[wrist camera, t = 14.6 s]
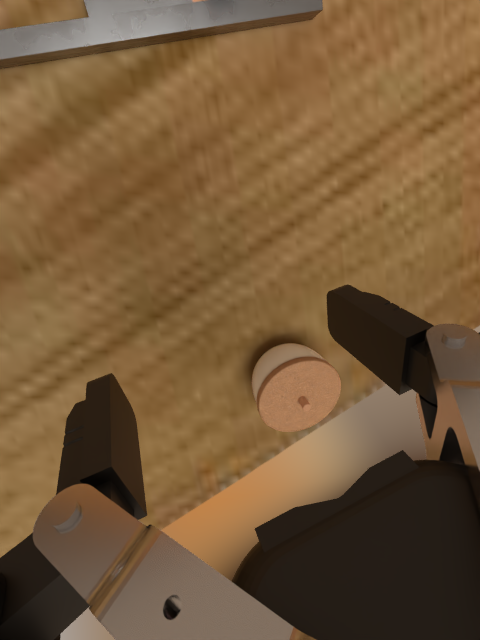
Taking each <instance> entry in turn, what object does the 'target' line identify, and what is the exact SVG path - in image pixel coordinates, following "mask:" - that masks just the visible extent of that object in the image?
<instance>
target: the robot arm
mask: <svg viewBox="0 0 480 640" xmlns="http://www.w3.org/2000/svg"><path fill="white" fill-rule="evenodd" d="M327 315H328V328H329V332H330V334H331V336H332V337H333V339H334V340H335V341H336V342H337V343H339V344H340V345H341V346H342V347H343V348H344V349H346V350H347V351H348V352H349V353H350V354H352V355H353V356H354V357H355V358H356V359H357V360H359V361H360V362H361V363H362V364H363V365H365V366H366V367H367V368H368V369H369V370H370V371H372V372H373V373H374V374H375V375H376V376H378V377H379V378H380V379H381V380H382V381H383V382H385V383H386V384H387V385H388V386H389V387H391V388H392V389H393V390H394V391H395V392H396V393H398V394H399V395H400V394H403V393H405V392H407V391H409V390H411V389H413V390H414V391H416V392H417V394H416V403H417V408H418V413H419V418H420V422H421V427H422V432H423V436H424V442H425V447H426V460H416V461H413V460H412V459H411V458H410V457H409V456H408V455H407V454H406V453H405V452H404V451H403V450H402V451H400V452H399V453H397V454H395V455H393V456H391V457H389V458H387V459H385V460H383V461H381V462H380V463H378V464H376V465H374V466H372V467H370V468H369V469H368V470H367V471H366V472H365V473H364V474H363V475H362V476H361V477H360V478H359V479H358V480H357V481H356V483H354V484H353V485H352V486H351V488H349V489H348V490H347V491H346V492H345V494H344V495H342V496H341V497H339V498H337V499H333V500H328V501H324V502H319V503H314V504H309V505H304V506H300V507H295V508H293V509H291V510H289V511H287V512H285V513H283V514H281V515H279V516H277V517H276V518H274V519H272V520H270V521H268V522H266V523H264V524H262V525H261V526H259V527H257V528H255V531H256V533H257V536H258V539H259V542H258V543H257V544H256V545H255V546H254V547H253V548H252V549H251V551H250V552H249V553H248V554H247V556H246V557H245V558H244V560H243V561H242V563H241V564H240V566H239V568H238V569H237V571H236V573H235V575H234V577H233V579H232V582H231V581H229V580H228V579H227V578H226V577H224V576H223V575H221V574H220V573H219V572H217V571H216V570H215V569H213V568H212V567H210V566H209V565H208V564H206V563H205V562H204V561H202V560H201V559H199V558H198V557H197V556H195V555H194V554H192V553H191V552H190V551H188V550H187V549H186V548H184V547H183V546H181V545H180V544H178V543H177V542H176V541H175V540H173V539H172V538H170V537H169V536H168V535H166V534H165V533H163V532H162V531H161V530H159V529H158V528H156V527H154V526H152V525H149V526H146V525H144V524H142V523H141V522H140V521H138V520H139V519H141V518H143V517H145V516H147V511H146V502H145V493H144V484H143V476H142V467H141V458H140V449H139V440H138V432H137V423H136V418H135V415H134V412H133V409H132V407H131V405H130V403H129V401H128V399H127V398H126V396H125V394H124V392H123V390H122V389H121V387H120V385H119V383H118V382H117V380H116V378H115V376H114V375H113V374H112V373H111V374H108V375H105V376H103V377H100V378H97V379H95V380H92V381H90V382H88V383H87V388H86V400H84V401H82V402H79V403H76V404H75V406H74V407H73V409H72V411H71V412H70V414H69V416H68V418H67V421H66V428H65V434H66V435H65V436H64V443H63V445H64V447H63V450H62V457H61V464H60V471H59V478H58V486H57V493H56V496H54V497H53V498H52V499H51V500H50V501H49V502H48V503H47V504H46V506H45V507H44V508H43V510H42V511H41V513H40V514H39V516H38V518H37V520H36V522H35V525H34V529H33V533H32V534H31V535H29V536H28V537H27V538H26V539H25V540H23V541H22V542H21V543H19V544H18V545H17V546H15V547H14V548H13V549H11V550H10V551H9V552H7V553H6V554H5V555H4V556H2V557H1V558H0V640H60V633H61V632H63V631H64V630H65V629H66V628H67V627H68V626H69V625H70V624H71V623H72V622H73V621H74V620H75V619H76V618H78V617H79V616H80V615H81V614H82V613H83V612H84V611H85V610H86V609H87V608H88V607H89V606H90V607H89V609H90V611H91V612H92V614H93V615H94V616H95V617H96V618H97V620H98V621H99V622H100V623H101V624H102V625H103V626H104V627H105V628H106V630H107V631H108V632H109V633H110V634H111V635H112V636H113V637H114V639H115V640H480V333H477V332H476V331H474V330H472V329H470V328H468V327H465V326H462V325H457V324H440V325H436V326H433V325H432V324H430V323H428V322H426V321H424V320H422V319H421V318H419V317H417V316H415V315H413V314H412V313H410V312H408V311H406V310H404V309H402V308H401V309H400V308H399V306H397V305H395V304H393V303H390V301H388V300H386V299H384V298H382V297H381V296H379V295H375V294H371V293H367V292H361V291H359V290H358V289H356V288H354V287H352V286H351V285H344V286H342V287H339V288H337V289H334V290H331V291H329V292H328V293H327Z"/></svg>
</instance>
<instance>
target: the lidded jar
mask: <svg viewBox="0 0 480 640" xmlns="http://www.w3.org/2000/svg"><path fill="white" fill-rule="evenodd" d="M252 390H253V395H254V399H255V402H256V404H257V408H258V411H259V414H260V416H261V418H262V420H263V421H264V422H265V423H266V424H267V425H268V426H270V427H271V428H273V429H276V430H279V431H284V432H293V431H299V430H303V429H306V428H309V427H311V426H313V425H315V424H316V423H318V422H319V421H321V420H322V419H324V418H325V417H326V416H327V415H328V414H329V413H330V412H331V410H332V409H333V408H334V406H335V405H336V403H337V401H338V399H339V395H340V391H341V381H340V377H339V375H338V373H337V371H336V370H335V369H334V368H333V367H332V366H331V365H330V364H329V363H328V362H327V361H326V360H325V359H324V358H323V357H322V356H320V355H319V354H318V353H317V352H315V351H314V350H312V349H310V348H308V347H307V346H304V345H300V344H296V343H286V344H280V345H277V346H275V347H273V348H271V349H269V350H268V351H267V352H265V353H264V354H263V355H262V356H261V357H260V359H259V360H258V362H257V364H256V365H255V368H254V370H253V375H252Z"/></svg>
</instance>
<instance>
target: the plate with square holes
mask: <svg viewBox="0 0 480 640" xmlns="http://www.w3.org/2000/svg"><path fill="white" fill-rule="evenodd" d="M84 3H85V6H86V9H87V12H88V15H89V17H87V18H80V19H73V20H66V21H59V22H52V23H45V24H38V25H31V26H24V27H17V28H10V29H3V30H0V69H1V68H7V67H14V66H20V65H26V64H33V63H39V62H45V61H52V60H58V59H64V58H71V57H77V56H83V55H90V54H96V53H102V52H109V51H115V50H121V49H128V48H134V47H140V46H147V45H153V44H159V43H166V42H172V41H178V40H184V39H191V38H197V37H203V36H210V35H216V34H222V33H229V32H235V31H241V30H248V29H254V28H260V27H267V26H273V25H279V24H286V23H292V22H298V21H305V20H311V19H313V18H314V17H315V16H316V15H317V14H318V13H320V12H321V11H322V10H323V7H322V0H84Z"/></svg>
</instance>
